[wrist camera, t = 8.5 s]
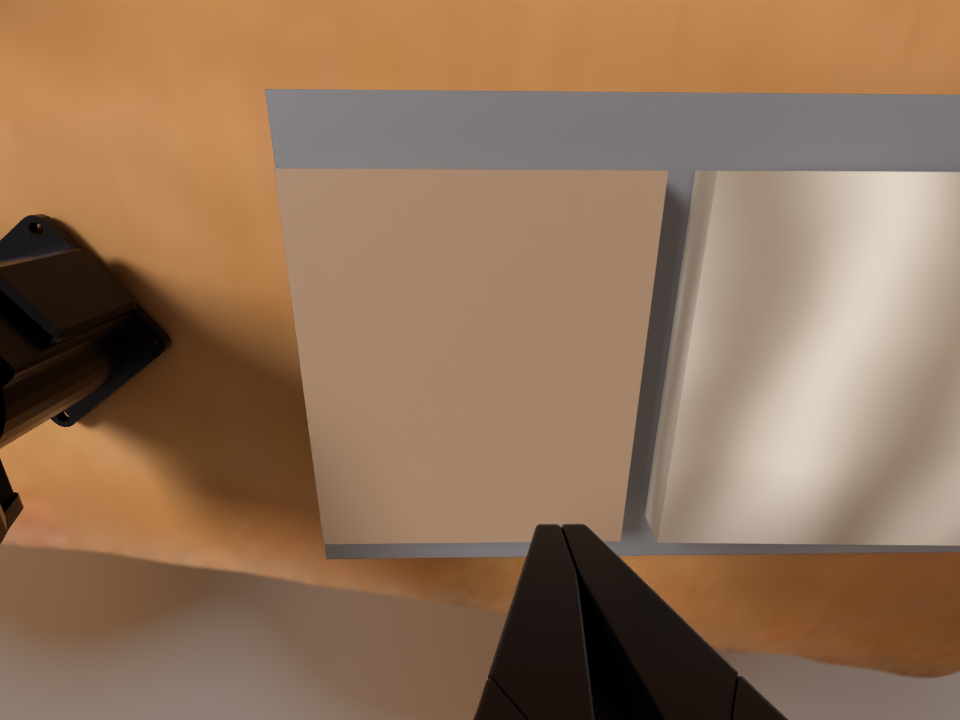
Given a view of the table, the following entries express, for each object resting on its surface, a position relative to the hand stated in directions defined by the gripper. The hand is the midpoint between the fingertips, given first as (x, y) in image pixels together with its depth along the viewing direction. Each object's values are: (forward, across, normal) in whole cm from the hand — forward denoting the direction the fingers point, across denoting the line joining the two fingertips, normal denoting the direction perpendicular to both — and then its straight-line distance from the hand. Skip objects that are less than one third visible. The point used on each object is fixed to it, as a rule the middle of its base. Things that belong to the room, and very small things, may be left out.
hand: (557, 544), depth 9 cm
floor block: (+13, -6, 0) cm, 15 cm away
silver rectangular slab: (+8, -12, 0) cm, 15 cm away
